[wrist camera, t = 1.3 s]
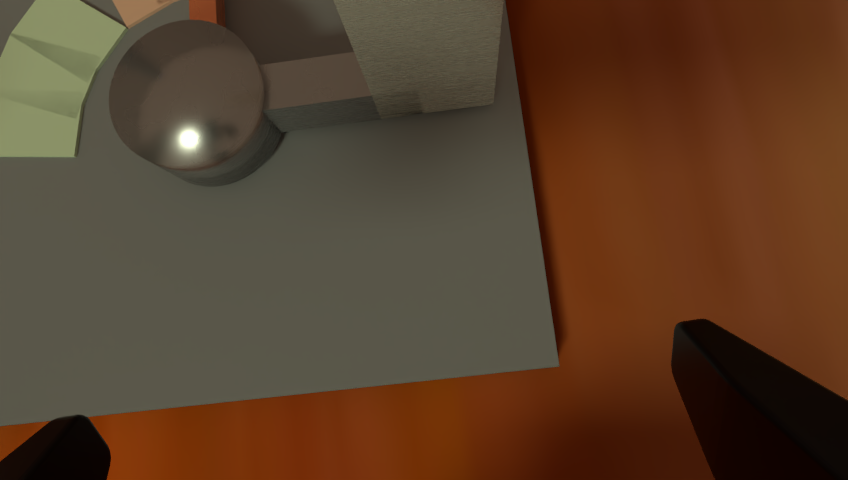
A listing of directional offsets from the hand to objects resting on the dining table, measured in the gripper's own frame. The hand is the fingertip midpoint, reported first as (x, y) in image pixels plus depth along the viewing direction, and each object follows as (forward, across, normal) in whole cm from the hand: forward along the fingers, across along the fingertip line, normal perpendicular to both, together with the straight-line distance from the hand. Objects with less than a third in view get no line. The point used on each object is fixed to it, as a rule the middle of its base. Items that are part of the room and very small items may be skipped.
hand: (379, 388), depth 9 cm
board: (+16, +6, 0) cm, 17 cm away
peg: (+16, +2, -3) cm, 17 cm away
